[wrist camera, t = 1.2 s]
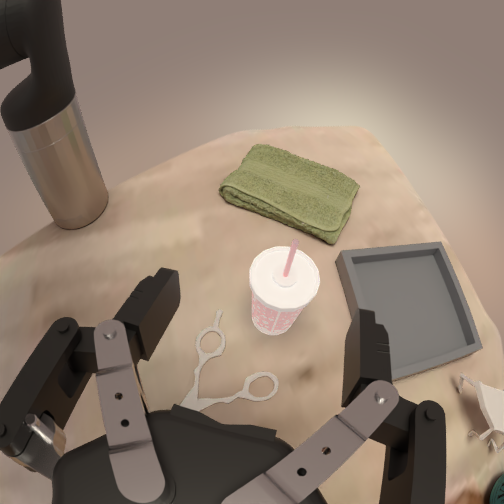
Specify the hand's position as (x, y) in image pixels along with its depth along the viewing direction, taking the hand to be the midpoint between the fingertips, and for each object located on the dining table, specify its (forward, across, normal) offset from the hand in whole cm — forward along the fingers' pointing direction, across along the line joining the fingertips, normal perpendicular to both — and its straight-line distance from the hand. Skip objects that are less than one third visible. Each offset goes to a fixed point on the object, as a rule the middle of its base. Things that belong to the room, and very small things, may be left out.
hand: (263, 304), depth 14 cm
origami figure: (+8, -27, +21) cm, 35 cm away
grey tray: (+19, -16, +15) cm, 29 cm away
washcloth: (+32, +2, +10) cm, 34 cm away
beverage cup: (+15, 0, +16) cm, 22 cm away
